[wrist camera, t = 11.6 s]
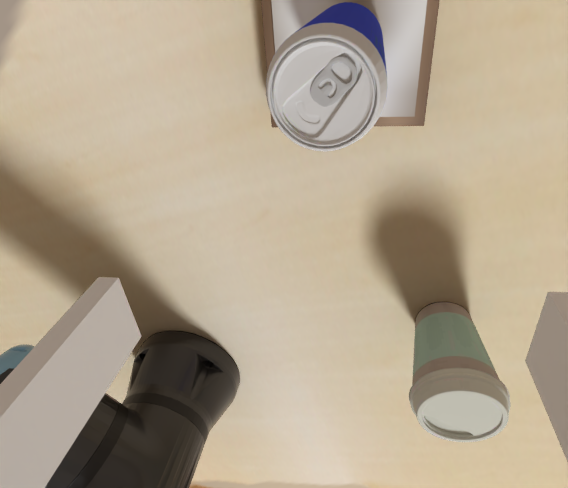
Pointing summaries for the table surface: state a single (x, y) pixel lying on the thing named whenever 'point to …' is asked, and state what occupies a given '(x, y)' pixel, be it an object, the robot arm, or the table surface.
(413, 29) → the stand
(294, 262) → the table surface
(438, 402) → the coffee cup
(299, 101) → the beverage can
